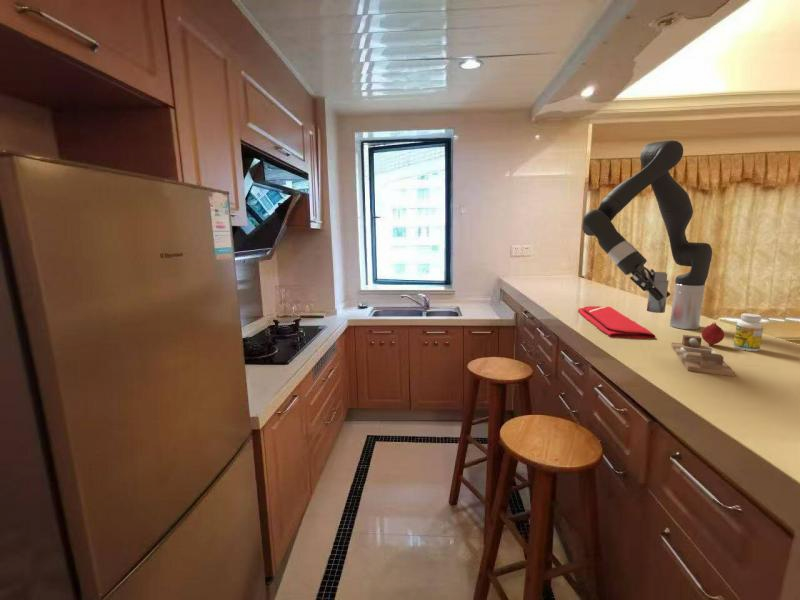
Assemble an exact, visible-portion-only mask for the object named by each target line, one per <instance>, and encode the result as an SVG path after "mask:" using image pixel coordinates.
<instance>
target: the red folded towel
mask: <svg viewBox="0 0 800 600" xmlns="http://www.w3.org/2000/svg"><path fill="white" fill-rule="evenodd" d="M577 312H578V314H579V313H580V314H579V315H581V317H582V318H583V319H585V320H586V321H588V322H589V323H590V324H591V323H592V324H591V325H593V326H594V327H595V328H596V327H597V329H598V330H599V331H600V330H601V331H600V332H601V333H603V334H605V335H606V336H607V335H608V336H607V337H609V338H612V337H613V338H615V337H631V338H630V339H647V338H652V339H651V340H653V339H654V340H655V338H657V337H656V335H655V334H654V333H653V332H652V331H650V330H649V329H647V328H645V327H644V326H642V325H641V324H639V323H637V322H635V321H633V320H632V319H630V318H629V317H628V316H625V315H624V314H622V313H621V312H619V311H618V310H616V309H614V308H613V307H611V306H604V305H603V306H601V305H600V306H599V305H598V306H595V305H594V306H585V307H579V308H578V310H577Z"/></svg>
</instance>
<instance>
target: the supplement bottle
mask: <svg viewBox="0 0 800 600" xmlns="http://www.w3.org/2000/svg"><path fill="white" fill-rule="evenodd" d="M761 321H762V315H760V314H754V313H748V312H747V313H745V312H744V313H741V315H740V320H738V321H737V322H736V325H735V333H734V340H733V347H734V348H735V349H737V350H741V351H745V350H746V351H745V352H758V351H760V349H761V344H762V339H763V331H764V324H763V323H761Z"/></svg>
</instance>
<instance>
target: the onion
mask: <svg viewBox="0 0 800 600" xmlns="http://www.w3.org/2000/svg"><path fill="white" fill-rule="evenodd" d="M700 334H701V338H702V339H703V341H704V342H705V343H706V344H708V346H713V345H716V344H719V343H721V341H722V340H724V338H725V332H724V330H723V328H721V327H720V326H719V325H718V324H717V322H715V321H713V322H711V324H710V325H707V326H705V327H704V328H703V329H702V330H701V333H700Z"/></svg>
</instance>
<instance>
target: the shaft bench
mask: <svg viewBox="0 0 800 600" xmlns="http://www.w3.org/2000/svg"><path fill="white" fill-rule="evenodd" d="M702 339H703V338H702V336H700V335H699V336H698V335H691V334H690V335H688V334H682V341H681V342H671V343H670V344H671V345H670V346H671V347H672V350H673V351H674V352H675V354H676V355H677V357H678V358H679V359H680V361H681V362H682V364H683V366H684V367H685V368H686V370H687V371H689V372H694V373H696V372H697V373H703V374H711V375H719V376H720V375H721V376H728V377H735V374H736V373H735V372H736V371H734V370H733V369H732V368H731V367H730V366H729V364H727V363H726V362H725V360H724V356H723V355H722V354H719V353H717V352H716V351H715V350H714V349H713V348H712V347H711V345H702Z"/></svg>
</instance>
